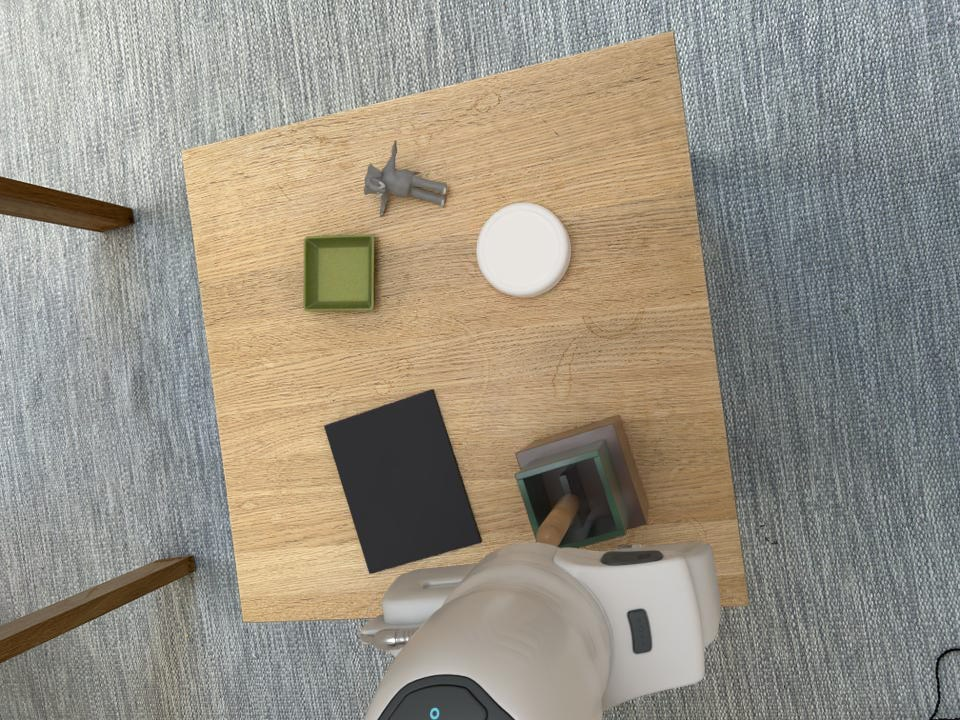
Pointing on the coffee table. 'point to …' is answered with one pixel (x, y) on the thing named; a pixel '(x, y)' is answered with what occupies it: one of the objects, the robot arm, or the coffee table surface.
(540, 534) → the spatula
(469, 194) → the coffee table surface
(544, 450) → the open box
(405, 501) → the mat
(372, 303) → the green square dish
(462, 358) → the coffee table surface
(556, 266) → the white round tub
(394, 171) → the elephant figurine
